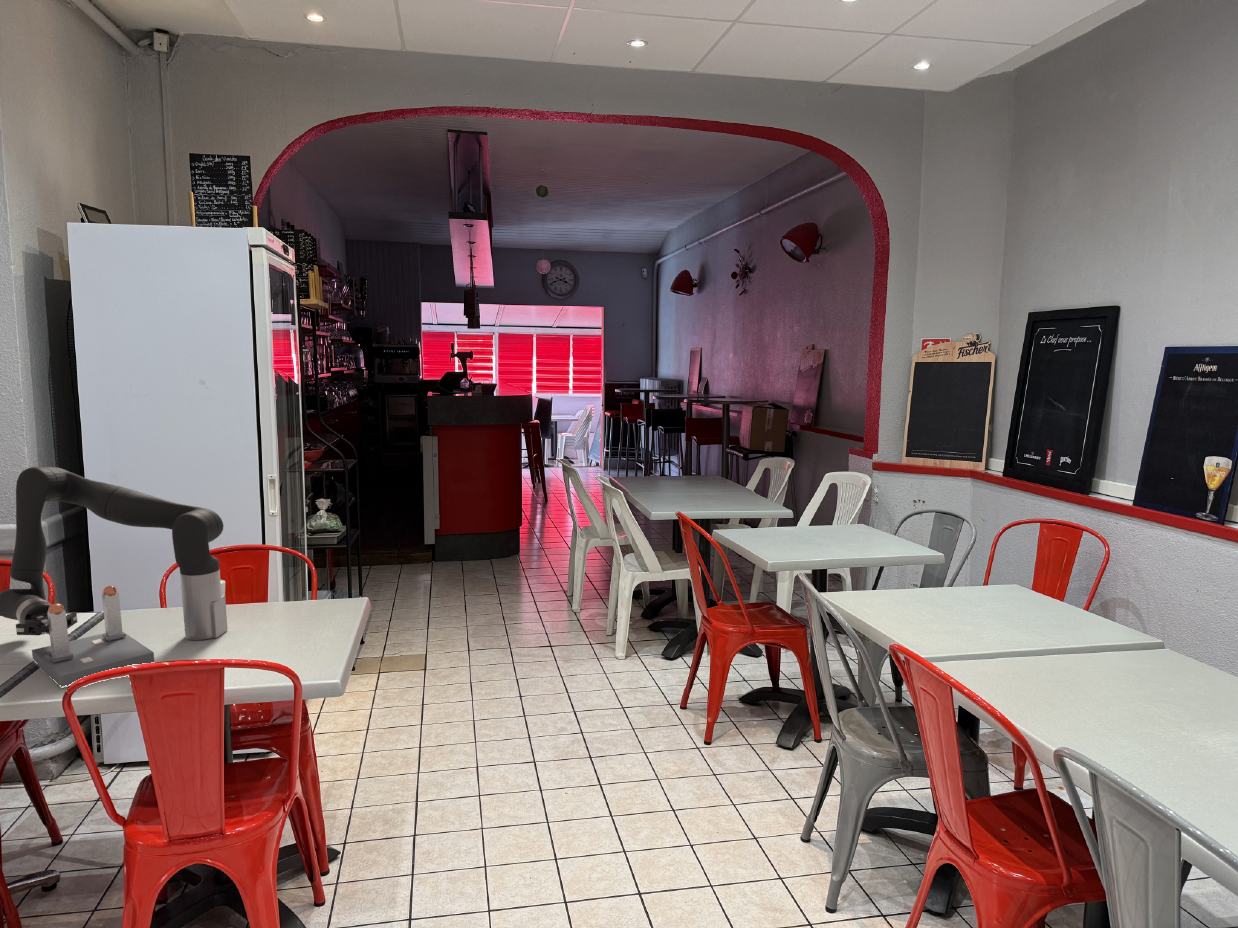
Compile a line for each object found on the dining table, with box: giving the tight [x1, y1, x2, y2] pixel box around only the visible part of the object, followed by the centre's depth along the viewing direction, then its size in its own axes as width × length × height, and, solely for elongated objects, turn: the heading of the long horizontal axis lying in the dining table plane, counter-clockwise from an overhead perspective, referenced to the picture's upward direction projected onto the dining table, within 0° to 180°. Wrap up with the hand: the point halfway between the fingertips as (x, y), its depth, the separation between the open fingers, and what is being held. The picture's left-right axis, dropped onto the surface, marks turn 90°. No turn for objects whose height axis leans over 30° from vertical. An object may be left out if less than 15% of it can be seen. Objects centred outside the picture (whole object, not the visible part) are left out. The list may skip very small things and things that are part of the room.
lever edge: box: [47, 602, 74, 663], centre depth 190 cm, size 4×4×13 cm
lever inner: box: [101, 585, 127, 641], centre depth 204 cm, size 4×4×13 cm
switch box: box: [31, 632, 155, 687], centre depth 196 cm, size 24×19×3 cm
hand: (57, 631), depth 190 cm, fingers closed
